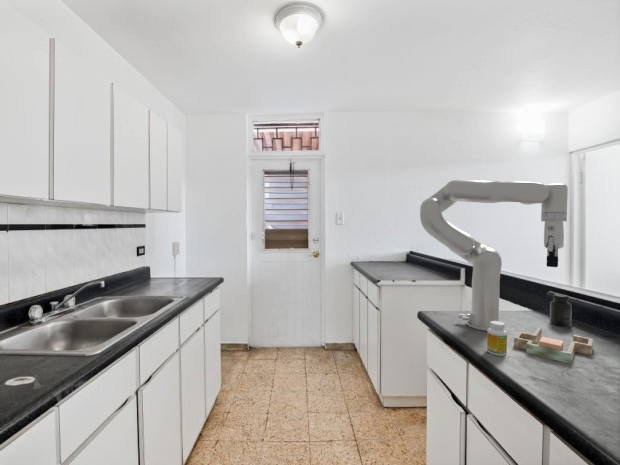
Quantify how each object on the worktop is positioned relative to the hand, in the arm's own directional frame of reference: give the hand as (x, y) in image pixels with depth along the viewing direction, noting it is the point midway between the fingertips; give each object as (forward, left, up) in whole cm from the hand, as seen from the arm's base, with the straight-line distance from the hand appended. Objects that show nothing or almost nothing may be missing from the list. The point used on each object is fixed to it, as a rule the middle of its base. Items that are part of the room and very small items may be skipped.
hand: (552, 266), depth 116 cm
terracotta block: (-8, -22, -25) cm, 35 cm away
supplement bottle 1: (-24, -26, -25) cm, 43 cm away
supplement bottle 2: (+8, +12, -25) cm, 29 cm away
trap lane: (-5, -16, -25) cm, 30 cm away
